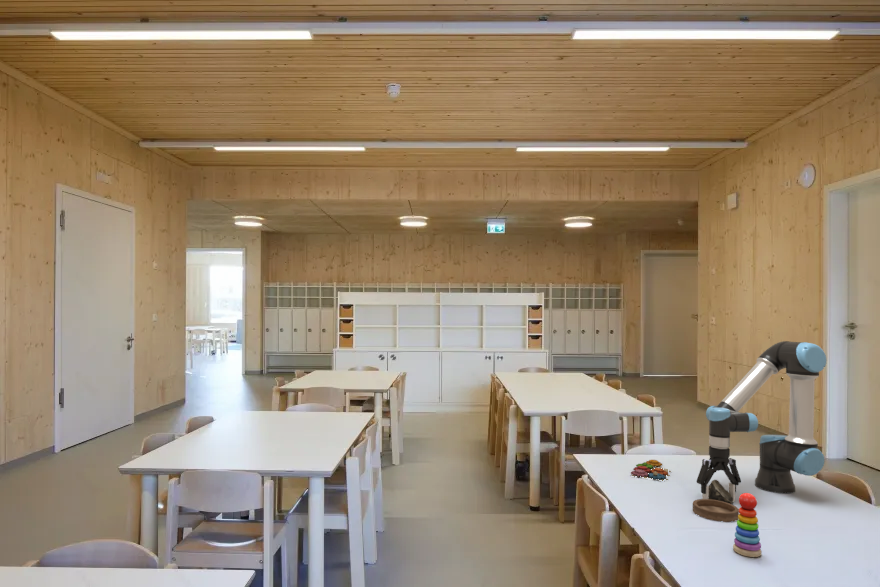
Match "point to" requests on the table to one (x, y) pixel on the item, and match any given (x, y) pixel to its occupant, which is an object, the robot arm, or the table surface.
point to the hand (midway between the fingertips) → (718, 501)
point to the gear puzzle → (646, 468)
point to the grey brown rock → (719, 492)
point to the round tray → (715, 510)
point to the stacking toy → (747, 528)
